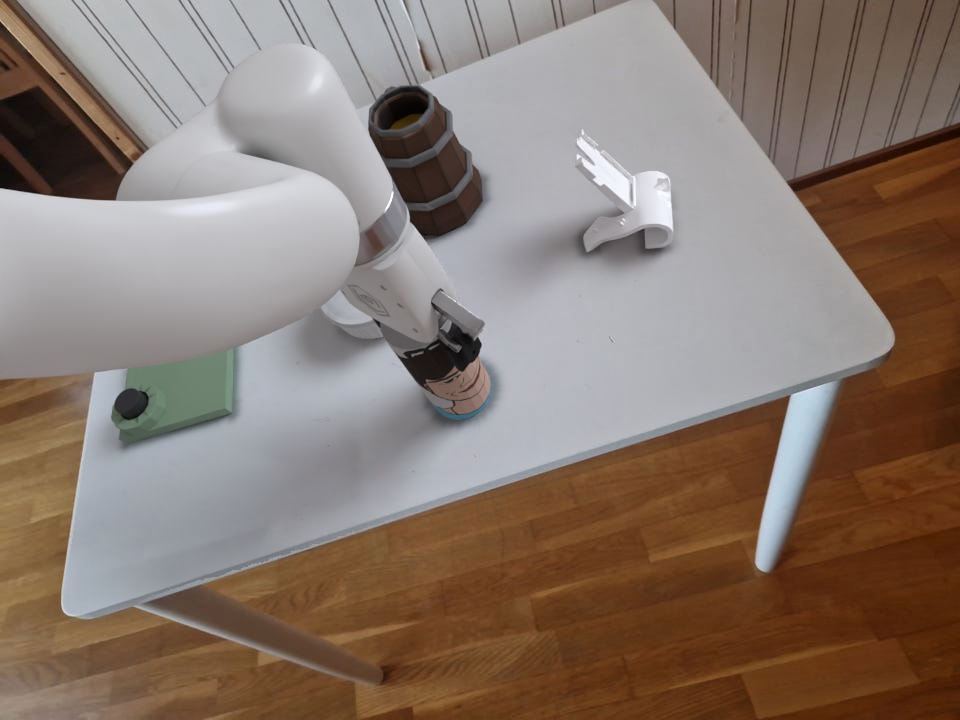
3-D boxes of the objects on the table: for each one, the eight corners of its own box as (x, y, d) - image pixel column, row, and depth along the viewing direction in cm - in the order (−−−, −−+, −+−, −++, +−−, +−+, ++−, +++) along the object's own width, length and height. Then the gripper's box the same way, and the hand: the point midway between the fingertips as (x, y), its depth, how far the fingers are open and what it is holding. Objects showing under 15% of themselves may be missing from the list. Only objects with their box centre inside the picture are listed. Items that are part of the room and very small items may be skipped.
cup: (453, 432, 70) (403, 363, 57) (420, 389, 73) (367, 316, 61) (504, 392, 70) (466, 317, 58) (469, 352, 74) (426, 272, 61)
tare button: (147, 414, 78) (136, 408, 77) (123, 422, 78) (112, 415, 77) (149, 391, 80) (139, 384, 78) (126, 398, 80) (115, 392, 79)
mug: (497, 209, 83) (464, 114, 71) (410, 250, 84) (361, 163, 71) (457, 135, 92) (421, 38, 79) (377, 173, 92) (329, 83, 80)
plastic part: (673, 247, 74) (673, 173, 64) (583, 254, 76) (570, 183, 67) (670, 195, 77) (670, 117, 68) (584, 203, 80) (572, 129, 70)
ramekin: (404, 354, 76) (387, 330, 72) (321, 341, 80) (300, 318, 76) (434, 274, 81) (420, 246, 76) (355, 266, 85) (337, 240, 80)
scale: (232, 413, 78) (217, 402, 76) (126, 444, 80) (108, 435, 78) (235, 317, 86) (221, 304, 83) (138, 348, 88) (121, 336, 85)
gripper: (244, 218, 51) (341, 332, 66) (411, 301, 43) (479, 410, 57) (307, 149, 53) (387, 274, 68) (477, 216, 45) (527, 342, 59)
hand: (429, 337), depth 62 cm, fingers open, 9 cm apart
